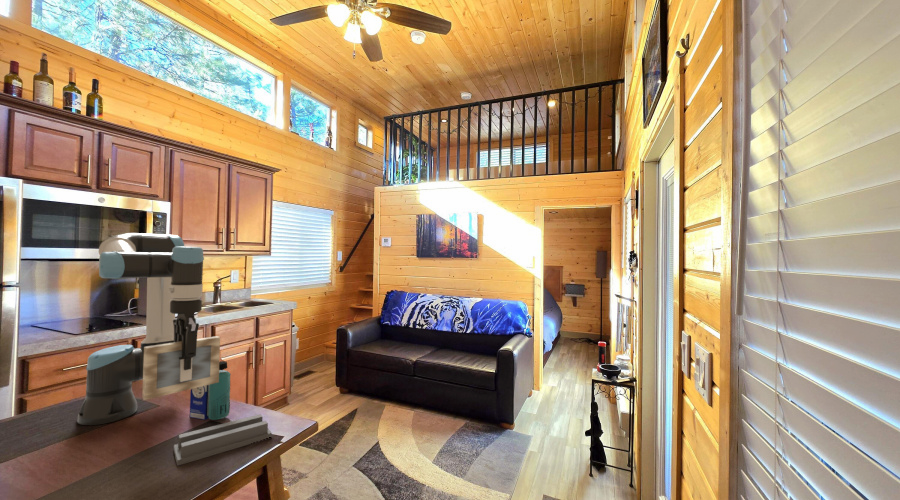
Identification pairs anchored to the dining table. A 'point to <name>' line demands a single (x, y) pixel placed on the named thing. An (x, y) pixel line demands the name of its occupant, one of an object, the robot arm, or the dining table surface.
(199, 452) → the display stand
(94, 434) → the dining table surface
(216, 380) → the picture frame
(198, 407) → the milk carton
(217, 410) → the beverage bottle
